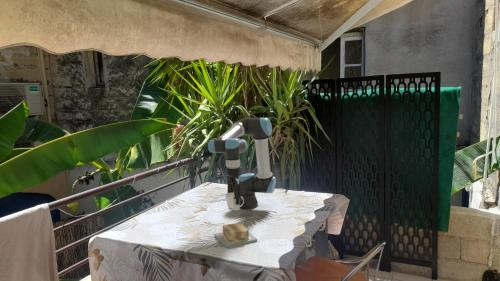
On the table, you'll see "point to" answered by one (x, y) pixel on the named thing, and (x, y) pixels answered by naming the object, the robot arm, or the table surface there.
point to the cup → (231, 200)
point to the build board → (231, 244)
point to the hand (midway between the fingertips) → (234, 208)
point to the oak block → (235, 232)
